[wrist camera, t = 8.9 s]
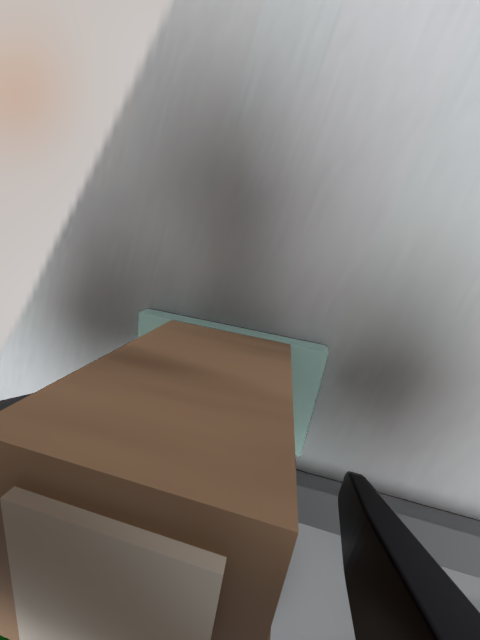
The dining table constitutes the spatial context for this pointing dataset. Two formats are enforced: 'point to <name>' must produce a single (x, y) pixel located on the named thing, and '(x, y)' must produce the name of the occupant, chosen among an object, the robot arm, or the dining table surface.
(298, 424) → the teal pad
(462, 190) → the dining table surface
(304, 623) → the tray
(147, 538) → the walnut box
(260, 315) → the dining table surface
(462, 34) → the dining table surface
